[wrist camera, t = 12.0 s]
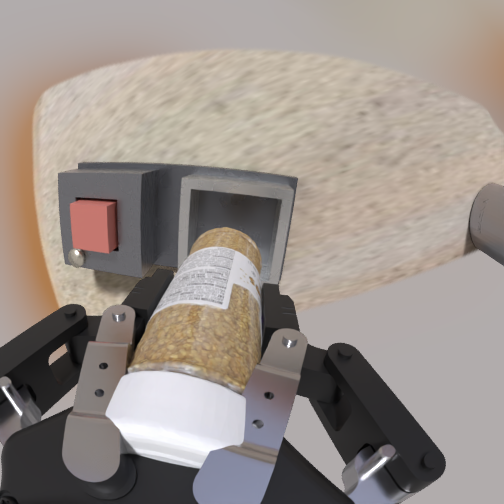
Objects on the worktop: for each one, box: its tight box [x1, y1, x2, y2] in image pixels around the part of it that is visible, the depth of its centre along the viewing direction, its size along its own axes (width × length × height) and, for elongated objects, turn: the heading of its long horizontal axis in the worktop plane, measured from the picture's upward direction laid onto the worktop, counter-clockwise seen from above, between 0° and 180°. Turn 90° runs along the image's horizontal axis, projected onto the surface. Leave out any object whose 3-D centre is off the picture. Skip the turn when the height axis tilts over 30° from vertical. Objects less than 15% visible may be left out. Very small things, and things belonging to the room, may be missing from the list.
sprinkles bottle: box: [105, 227, 262, 469], centre depth 11 cm, size 5×5×14 cm
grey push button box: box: [58, 162, 298, 286], centre depth 23 cm, size 22×10×6 cm, turn 83°
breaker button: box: [70, 198, 118, 253], centre depth 22 cm, size 4×4×5 cm
